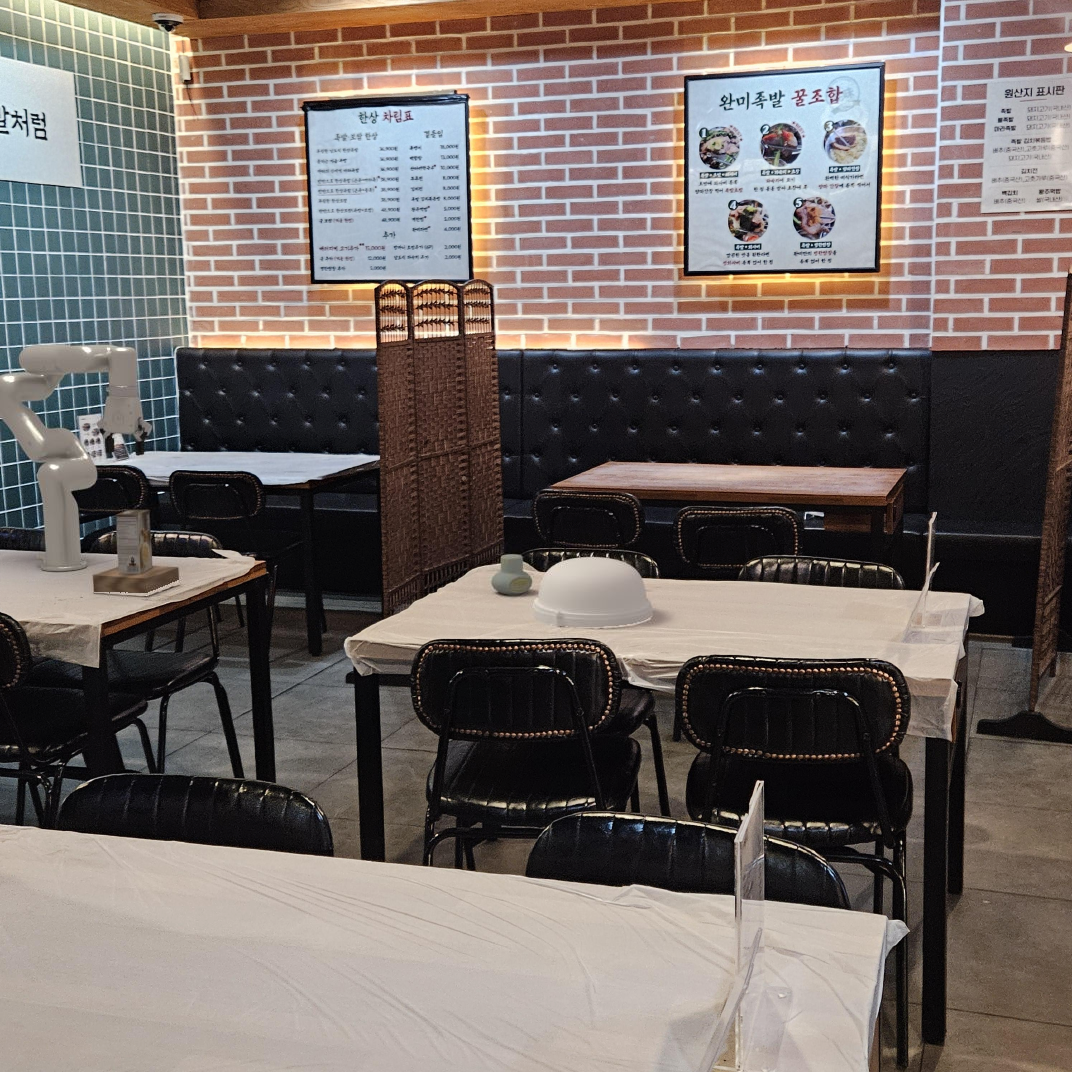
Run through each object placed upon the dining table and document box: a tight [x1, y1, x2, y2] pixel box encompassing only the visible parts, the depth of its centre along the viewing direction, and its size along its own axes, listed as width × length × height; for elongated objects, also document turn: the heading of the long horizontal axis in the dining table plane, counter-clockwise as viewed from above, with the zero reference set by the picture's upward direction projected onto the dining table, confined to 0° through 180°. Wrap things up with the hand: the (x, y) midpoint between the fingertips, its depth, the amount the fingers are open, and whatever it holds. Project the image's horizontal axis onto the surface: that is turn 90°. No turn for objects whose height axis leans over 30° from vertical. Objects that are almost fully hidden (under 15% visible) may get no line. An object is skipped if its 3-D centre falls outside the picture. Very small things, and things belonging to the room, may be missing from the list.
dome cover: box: [531, 556, 653, 628], centre depth 327 cm, size 32×30×14 cm
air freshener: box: [490, 553, 533, 596], centre depth 352 cm, size 11×8×10 cm
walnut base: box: [92, 565, 180, 593], centre depth 356 cm, size 16×16×5 cm
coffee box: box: [115, 509, 154, 574], centre depth 354 cm, size 9×6×16 cm
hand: (125, 453), depth 368 cm, fingers open, 9 cm apart
